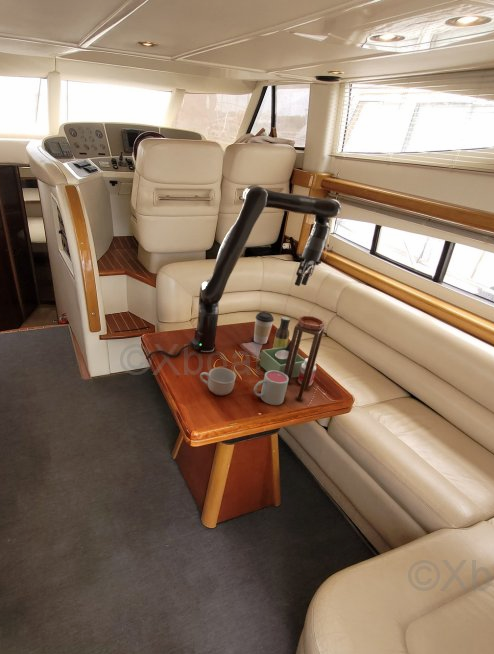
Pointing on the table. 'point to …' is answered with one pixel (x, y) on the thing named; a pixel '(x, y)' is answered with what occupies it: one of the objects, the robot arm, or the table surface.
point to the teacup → (219, 380)
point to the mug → (273, 387)
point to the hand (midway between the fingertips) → (300, 285)
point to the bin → (272, 365)
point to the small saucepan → (282, 355)
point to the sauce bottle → (282, 333)
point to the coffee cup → (262, 327)
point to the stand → (317, 329)
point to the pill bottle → (304, 371)
